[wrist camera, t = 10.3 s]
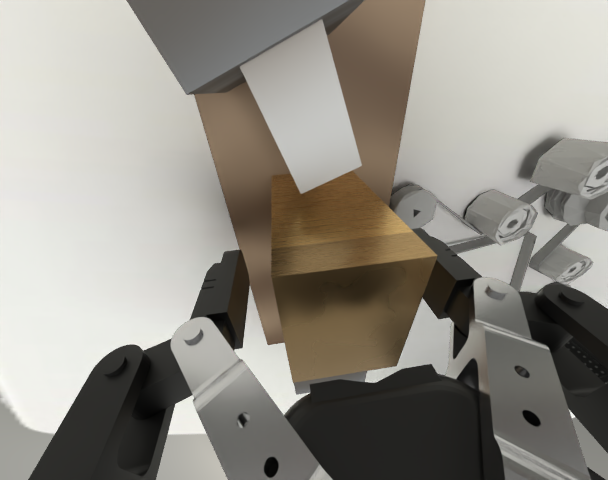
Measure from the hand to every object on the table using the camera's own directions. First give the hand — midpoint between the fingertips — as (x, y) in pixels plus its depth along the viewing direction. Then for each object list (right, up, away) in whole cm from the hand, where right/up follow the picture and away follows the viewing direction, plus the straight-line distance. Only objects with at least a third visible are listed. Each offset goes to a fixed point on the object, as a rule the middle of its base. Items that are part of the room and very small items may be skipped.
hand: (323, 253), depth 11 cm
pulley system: (+18, +2, +8) cm, 20 cm away
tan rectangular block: (0, +2, +3) cm, 4 cm away
